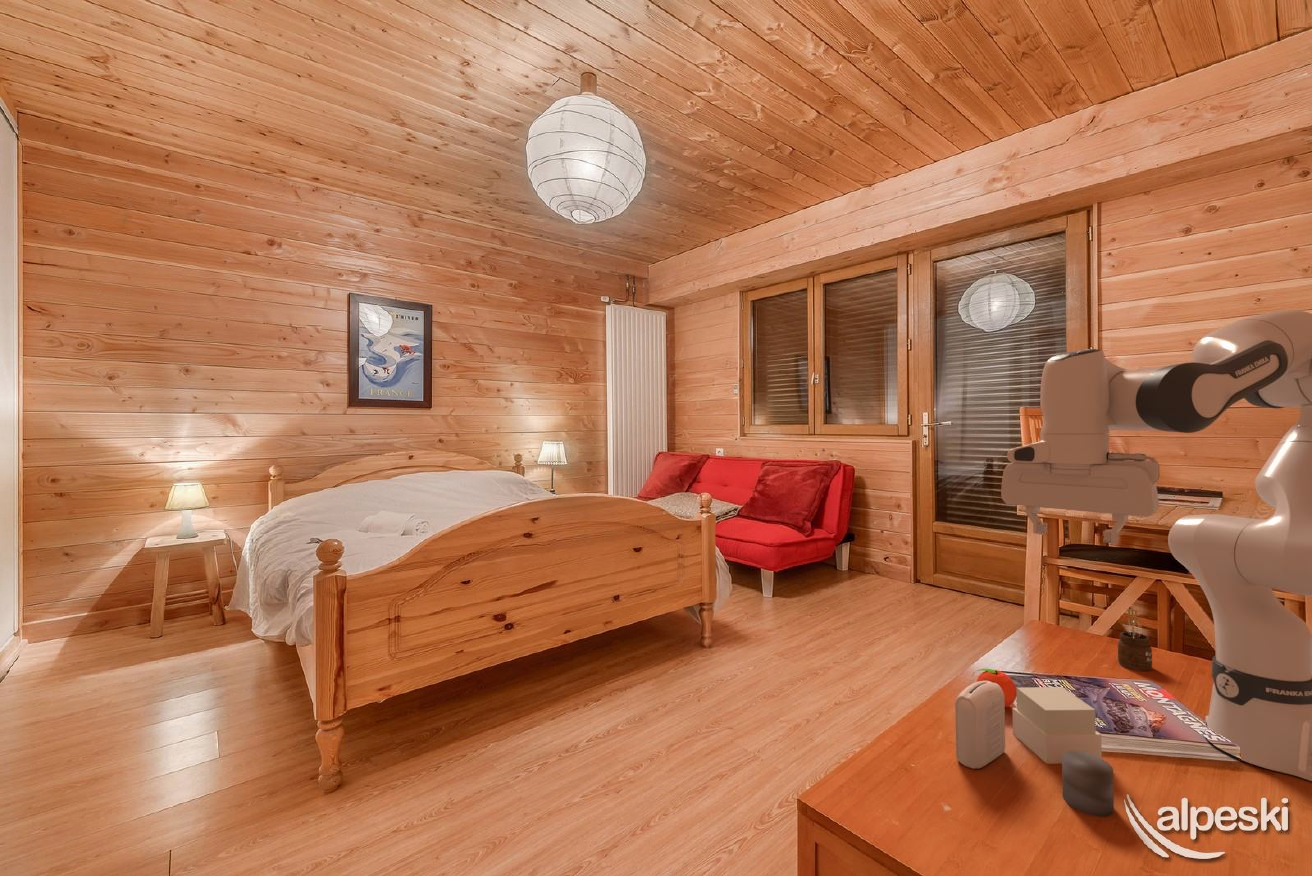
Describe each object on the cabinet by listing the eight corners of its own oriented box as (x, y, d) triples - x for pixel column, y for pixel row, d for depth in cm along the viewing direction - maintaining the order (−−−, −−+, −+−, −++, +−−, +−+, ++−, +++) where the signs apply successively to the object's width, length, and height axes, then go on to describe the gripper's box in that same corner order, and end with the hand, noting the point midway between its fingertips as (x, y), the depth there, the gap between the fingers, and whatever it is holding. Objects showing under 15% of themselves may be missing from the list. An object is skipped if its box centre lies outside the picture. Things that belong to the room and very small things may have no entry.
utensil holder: (1119, 668, 126) (1118, 615, 126) (1116, 658, 131) (1115, 607, 131) (1154, 674, 123) (1153, 619, 122) (1149, 663, 128) (1149, 611, 128)
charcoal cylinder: (1092, 789, 86) (1092, 750, 86) (1124, 816, 80) (1124, 775, 80) (1053, 790, 86) (1052, 751, 86) (1082, 817, 80) (1081, 776, 80)
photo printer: (983, 740, 100) (982, 671, 99) (1009, 751, 96) (1008, 680, 96) (952, 761, 94) (950, 688, 94) (978, 773, 90) (977, 698, 90)
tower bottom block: (1063, 734, 101) (1063, 707, 101) (1101, 764, 92) (1101, 734, 92) (1012, 735, 101) (1012, 707, 101) (1046, 765, 92) (1045, 735, 92)
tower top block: (1062, 709, 100) (1062, 687, 100) (1095, 733, 92) (1095, 709, 92) (1016, 709, 101) (1016, 687, 101) (1045, 734, 93) (1045, 710, 93)
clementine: (964, 703, 113) (964, 668, 113) (979, 692, 117) (978, 658, 117) (1009, 718, 106) (1008, 681, 106) (1022, 706, 111) (1022, 670, 111)
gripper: (1165, 453, 83) (1165, 545, 83) (1012, 449, 99) (1012, 527, 100) (1153, 454, 79) (1153, 552, 79) (996, 451, 96) (997, 531, 96)
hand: (1074, 538), depth 90 cm, fingers open, 8 cm apart
